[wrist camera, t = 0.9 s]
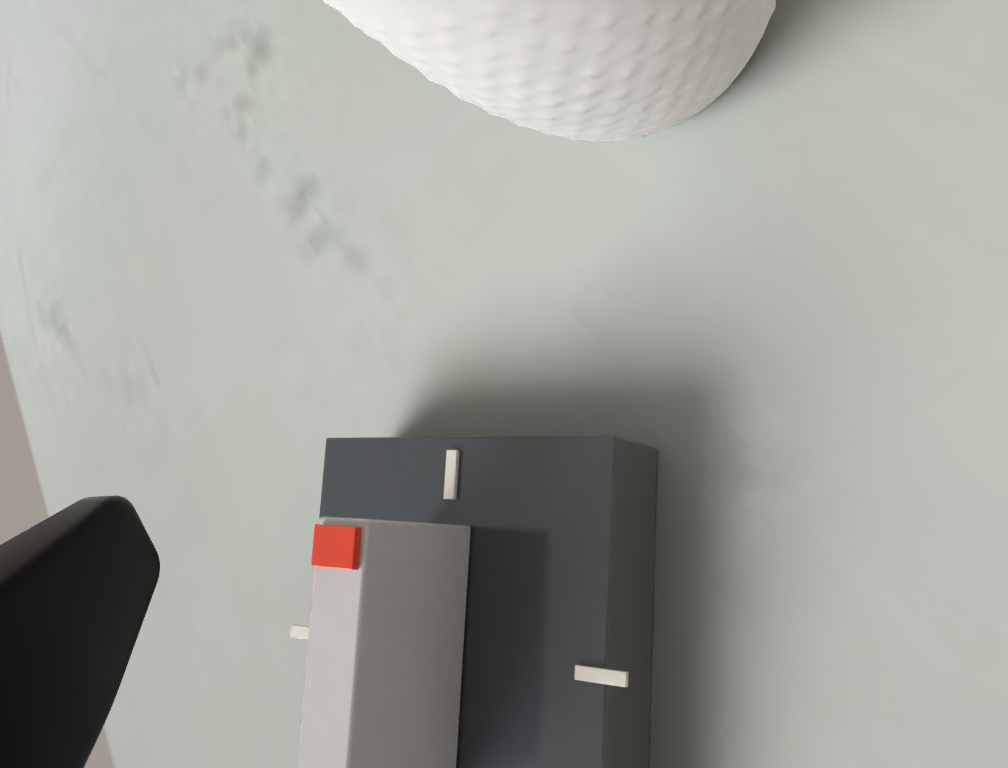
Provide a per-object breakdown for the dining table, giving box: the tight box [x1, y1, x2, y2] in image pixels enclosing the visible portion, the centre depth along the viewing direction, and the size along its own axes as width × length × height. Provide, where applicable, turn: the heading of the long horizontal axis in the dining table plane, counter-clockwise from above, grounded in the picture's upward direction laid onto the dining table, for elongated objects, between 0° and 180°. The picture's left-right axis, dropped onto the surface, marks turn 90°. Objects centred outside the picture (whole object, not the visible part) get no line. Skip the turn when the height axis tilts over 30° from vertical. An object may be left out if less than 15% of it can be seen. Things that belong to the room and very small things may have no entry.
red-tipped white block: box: [297, 516, 471, 768], centre depth 23 cm, size 7×2×5 cm, turn 177°
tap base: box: [290, 436, 657, 768], centre depth 26 cm, size 12×11×3 cm
